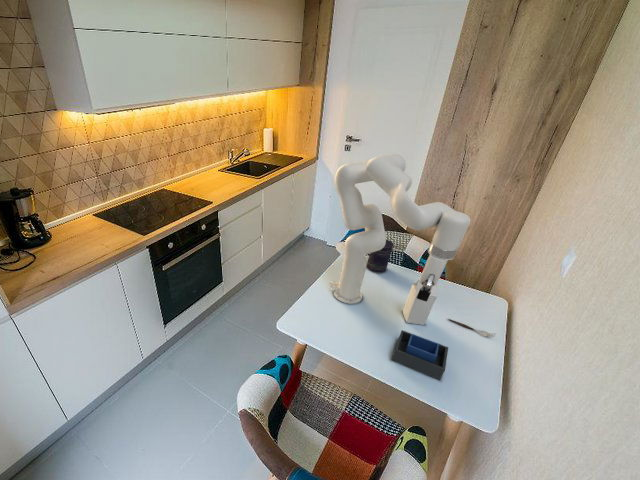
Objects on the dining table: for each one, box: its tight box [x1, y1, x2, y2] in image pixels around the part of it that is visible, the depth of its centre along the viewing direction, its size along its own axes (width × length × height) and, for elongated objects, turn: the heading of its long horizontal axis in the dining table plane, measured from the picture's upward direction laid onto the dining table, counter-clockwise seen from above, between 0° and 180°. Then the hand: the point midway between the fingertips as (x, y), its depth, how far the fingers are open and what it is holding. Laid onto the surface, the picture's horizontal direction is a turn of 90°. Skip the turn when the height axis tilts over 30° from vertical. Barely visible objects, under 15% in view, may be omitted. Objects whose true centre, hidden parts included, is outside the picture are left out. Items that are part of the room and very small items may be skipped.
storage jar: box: [366, 239, 394, 274], centre depth 163 cm, size 10×10×15 cm
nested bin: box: [405, 333, 440, 363], centre depth 113 cm, size 9×7×6 cm
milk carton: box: [402, 279, 439, 326], centre depth 129 cm, size 7×7×19 cm
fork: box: [448, 319, 497, 338], centre depth 128 cm, size 3×16×2 cm, turn 49°
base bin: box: [390, 330, 449, 381], centre depth 114 cm, size 16×12×5 cm
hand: (423, 292), depth 110 cm, fingers open, 9 cm apart
